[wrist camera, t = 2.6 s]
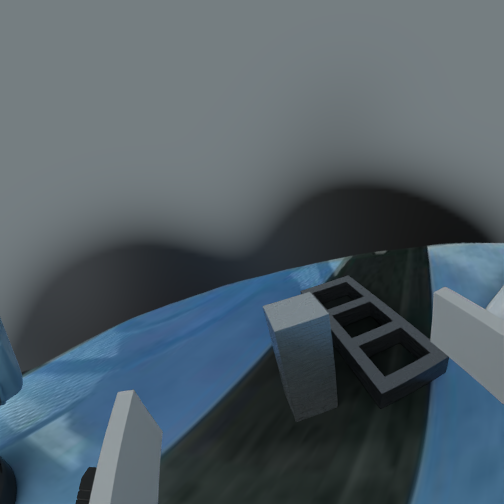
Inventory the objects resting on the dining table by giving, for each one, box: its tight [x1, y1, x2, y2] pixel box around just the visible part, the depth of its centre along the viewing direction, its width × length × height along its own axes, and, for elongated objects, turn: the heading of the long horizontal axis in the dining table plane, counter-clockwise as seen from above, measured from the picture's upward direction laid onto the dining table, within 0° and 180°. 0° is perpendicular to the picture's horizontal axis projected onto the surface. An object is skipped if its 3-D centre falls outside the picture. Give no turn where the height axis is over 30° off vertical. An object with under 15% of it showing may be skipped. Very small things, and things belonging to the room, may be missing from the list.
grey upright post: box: [263, 292, 338, 422], centre depth 26 cm, size 5×5×12 cm
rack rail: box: [301, 276, 449, 409], centre depth 36 cm, size 9×26×2 cm, turn 10°
